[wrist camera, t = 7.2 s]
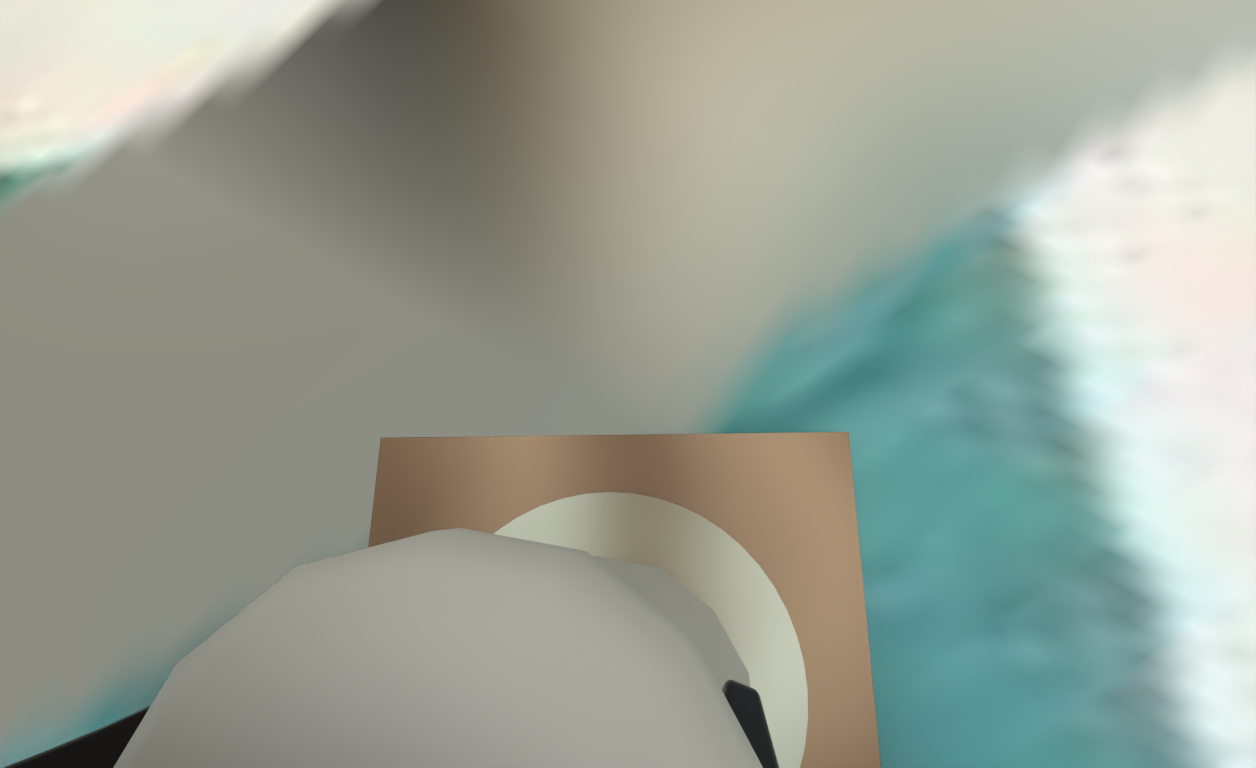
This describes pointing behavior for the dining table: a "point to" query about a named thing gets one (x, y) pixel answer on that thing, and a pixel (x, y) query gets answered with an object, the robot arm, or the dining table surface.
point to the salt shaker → (456, 667)
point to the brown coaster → (686, 547)
